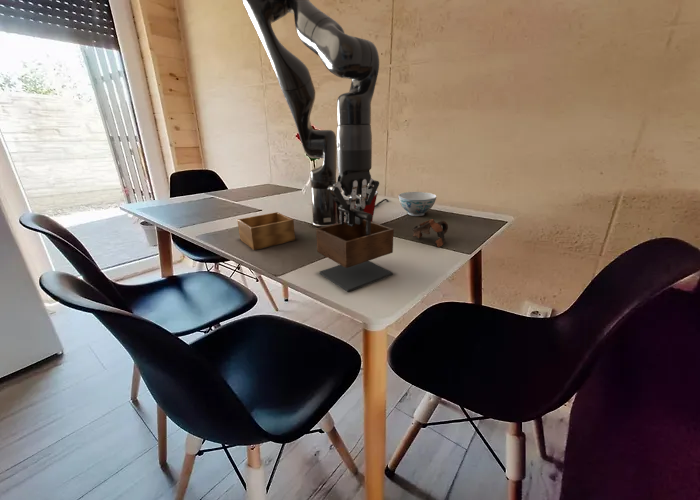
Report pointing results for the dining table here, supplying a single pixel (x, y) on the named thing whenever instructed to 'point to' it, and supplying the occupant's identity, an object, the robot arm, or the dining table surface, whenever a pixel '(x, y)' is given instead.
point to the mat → (355, 275)
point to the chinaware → (417, 202)
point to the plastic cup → (371, 205)
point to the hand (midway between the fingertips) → (354, 224)
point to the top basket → (354, 240)
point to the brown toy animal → (435, 226)
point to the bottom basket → (266, 230)
